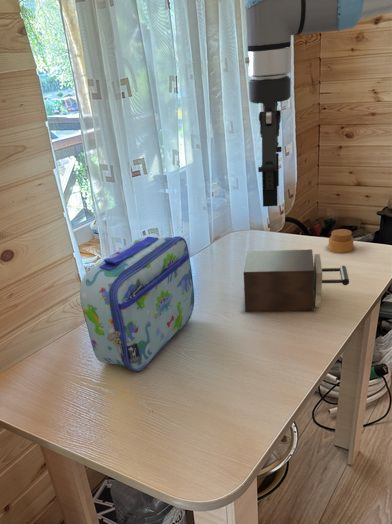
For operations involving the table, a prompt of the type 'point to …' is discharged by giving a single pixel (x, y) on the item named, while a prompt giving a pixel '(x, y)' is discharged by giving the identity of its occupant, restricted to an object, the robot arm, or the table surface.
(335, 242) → the orange-brown stepped cylinder
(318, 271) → the drawer
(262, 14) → the robot arm
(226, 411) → the table surface
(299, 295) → the cabinet
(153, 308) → the lunch box
